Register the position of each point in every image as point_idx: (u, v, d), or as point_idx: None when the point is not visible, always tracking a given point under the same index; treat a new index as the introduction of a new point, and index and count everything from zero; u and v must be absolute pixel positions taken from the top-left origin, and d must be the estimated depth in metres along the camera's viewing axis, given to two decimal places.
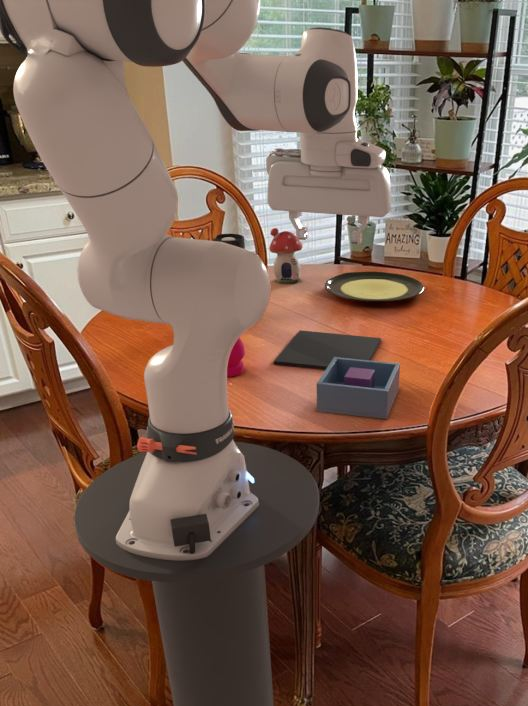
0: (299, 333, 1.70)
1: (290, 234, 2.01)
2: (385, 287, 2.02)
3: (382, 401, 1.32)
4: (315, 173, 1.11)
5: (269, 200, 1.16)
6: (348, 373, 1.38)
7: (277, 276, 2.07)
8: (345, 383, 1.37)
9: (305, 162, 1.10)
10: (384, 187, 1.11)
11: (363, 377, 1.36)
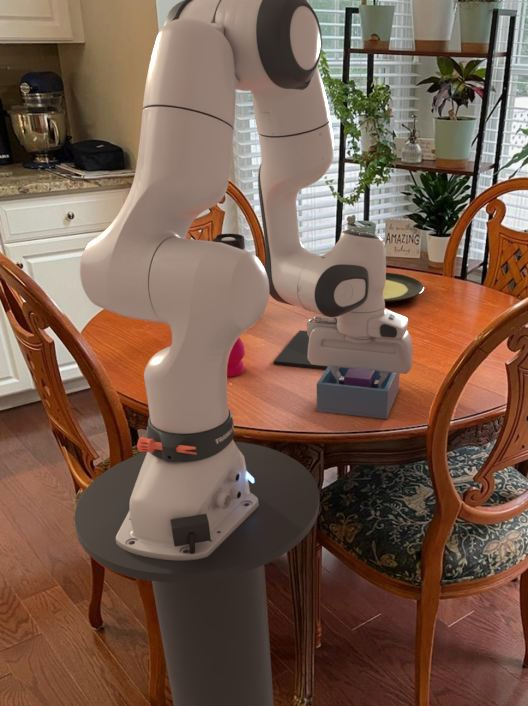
0: (299, 333, 1.70)
1: None
2: (385, 287, 2.02)
3: (382, 401, 1.32)
4: (349, 340, 1.32)
5: (309, 357, 1.36)
6: (348, 373, 1.38)
7: None
8: (345, 383, 1.37)
9: (341, 332, 1.31)
10: (407, 352, 1.31)
11: (363, 377, 1.36)
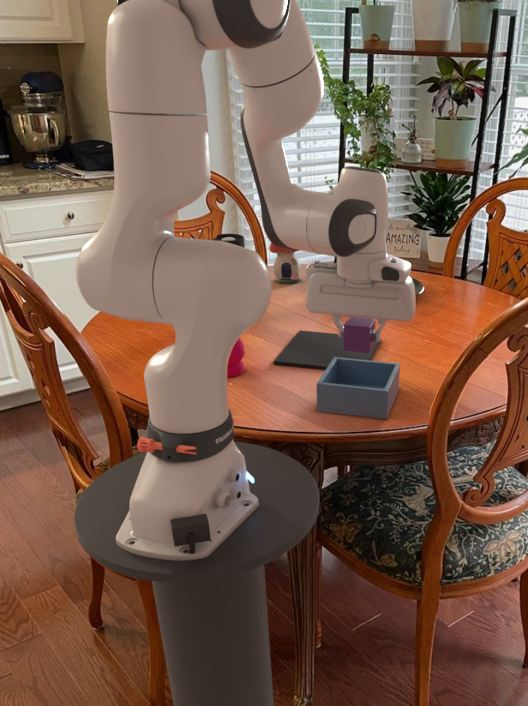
0: (299, 333, 1.70)
1: None
2: None
3: (382, 401, 1.32)
4: (349, 285, 1.26)
5: (307, 304, 1.31)
6: (348, 321, 1.32)
7: (277, 276, 2.07)
8: (345, 331, 1.31)
9: (341, 276, 1.25)
10: (410, 297, 1.26)
11: (363, 325, 1.31)
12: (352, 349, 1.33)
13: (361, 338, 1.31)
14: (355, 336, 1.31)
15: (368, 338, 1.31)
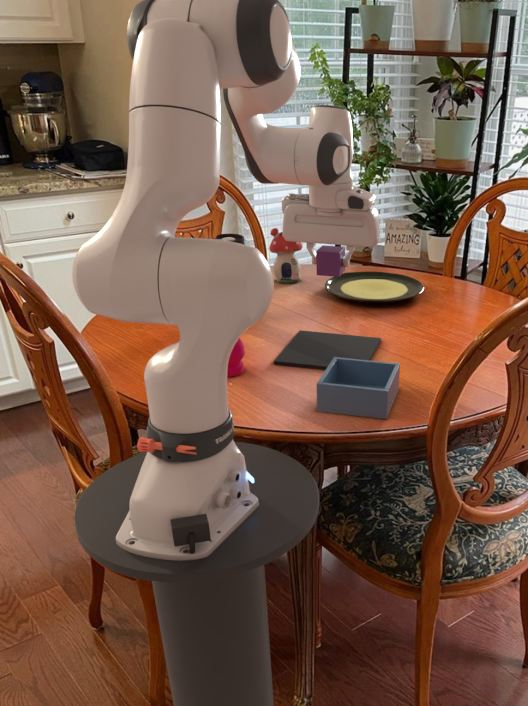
0: (299, 333, 1.70)
1: None
2: (385, 287, 2.02)
3: (382, 401, 1.32)
4: (320, 214, 1.42)
5: (284, 233, 1.47)
6: (320, 249, 1.48)
7: (277, 276, 2.07)
8: (317, 257, 1.47)
9: (312, 205, 1.41)
10: (374, 224, 1.42)
11: (334, 251, 1.47)
12: (324, 274, 1.49)
13: (332, 263, 1.47)
14: (326, 261, 1.47)
15: (338, 263, 1.47)
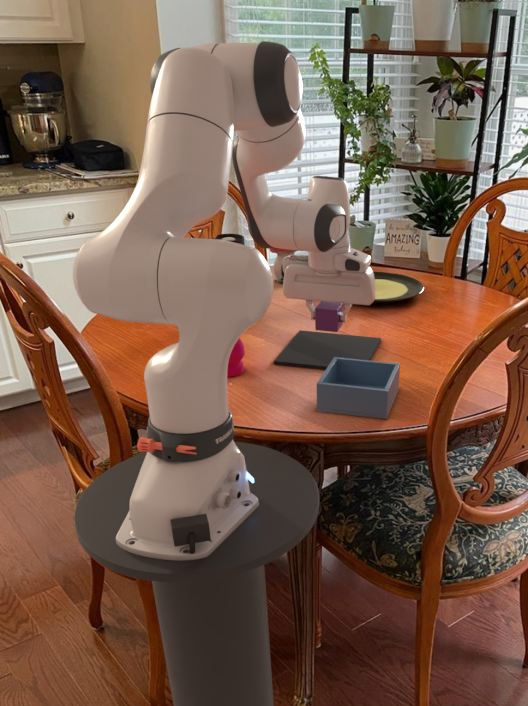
0: (299, 333, 1.70)
1: None
2: (385, 287, 2.02)
3: (382, 401, 1.32)
4: (318, 274, 1.50)
5: (284, 291, 1.55)
6: (319, 305, 1.56)
7: (277, 276, 2.07)
8: (316, 314, 1.55)
9: (311, 267, 1.49)
10: (370, 285, 1.50)
11: (332, 308, 1.55)
12: (323, 329, 1.57)
13: (330, 320, 1.55)
14: (324, 318, 1.55)
15: (336, 319, 1.55)
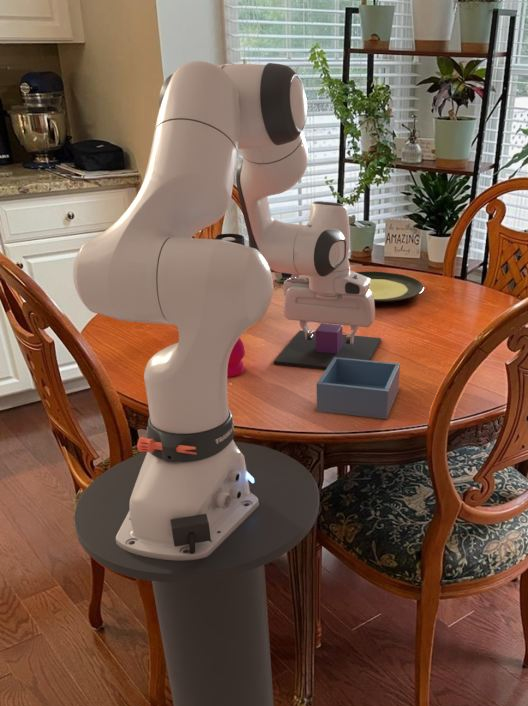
0: (299, 333, 1.70)
1: None
2: (385, 287, 2.02)
3: (382, 401, 1.32)
4: (319, 297, 1.53)
5: (285, 313, 1.58)
6: (319, 328, 1.59)
7: (277, 276, 2.07)
8: (316, 336, 1.58)
9: (312, 289, 1.52)
10: (369, 307, 1.52)
11: (332, 331, 1.57)
12: (323, 350, 1.59)
13: (330, 342, 1.58)
14: (325, 340, 1.58)
15: (336, 341, 1.58)
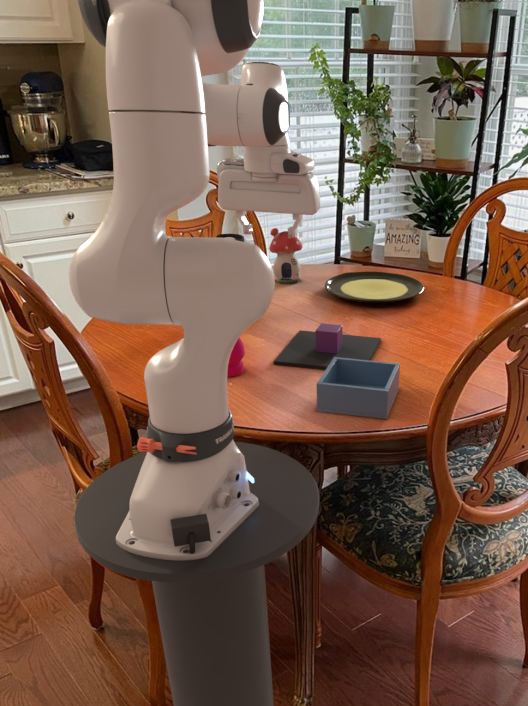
0: (299, 333, 1.70)
1: None
2: (385, 287, 2.02)
3: (382, 401, 1.32)
4: (255, 179, 1.35)
5: (219, 201, 1.40)
6: (319, 328, 1.59)
7: (277, 276, 2.07)
8: (316, 336, 1.58)
9: (247, 170, 1.34)
10: (311, 190, 1.35)
11: (332, 331, 1.57)
12: (323, 350, 1.59)
13: (330, 342, 1.58)
14: (325, 340, 1.58)
15: (336, 341, 1.58)
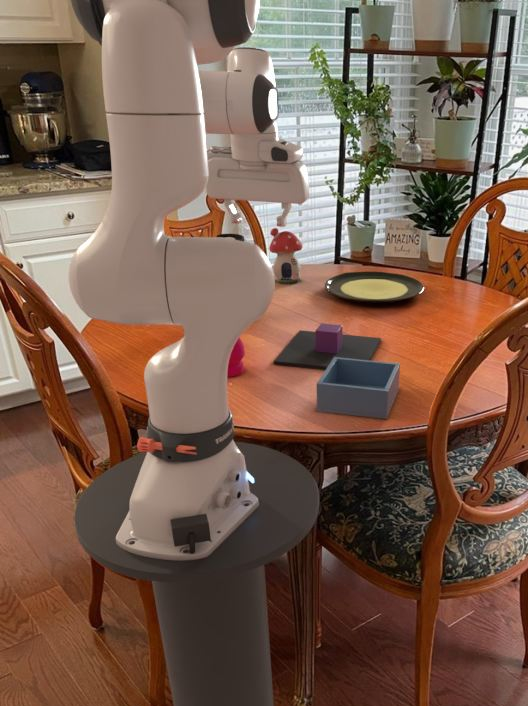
0: (299, 333, 1.70)
1: (290, 234, 2.01)
2: (385, 287, 2.02)
3: (382, 401, 1.32)
4: (243, 167, 1.34)
5: (207, 190, 1.38)
6: (319, 328, 1.59)
7: (277, 276, 2.07)
8: (316, 336, 1.58)
9: (234, 158, 1.32)
10: (300, 179, 1.33)
11: (332, 331, 1.57)
12: (323, 350, 1.59)
13: (330, 342, 1.58)
14: (325, 340, 1.58)
15: (336, 341, 1.58)
